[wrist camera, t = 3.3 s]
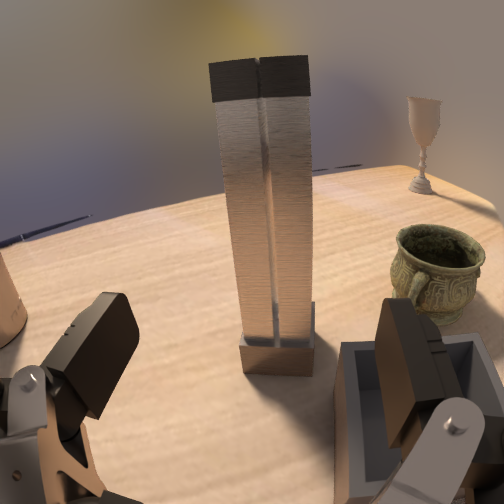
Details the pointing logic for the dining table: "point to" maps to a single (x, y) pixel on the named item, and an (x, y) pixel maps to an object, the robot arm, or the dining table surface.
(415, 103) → the chalice
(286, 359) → the split metal pillar
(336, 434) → the grey open storage bin
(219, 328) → the dining table surface
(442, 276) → the vessel
